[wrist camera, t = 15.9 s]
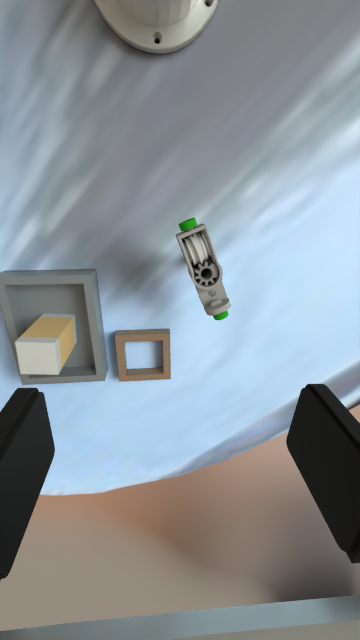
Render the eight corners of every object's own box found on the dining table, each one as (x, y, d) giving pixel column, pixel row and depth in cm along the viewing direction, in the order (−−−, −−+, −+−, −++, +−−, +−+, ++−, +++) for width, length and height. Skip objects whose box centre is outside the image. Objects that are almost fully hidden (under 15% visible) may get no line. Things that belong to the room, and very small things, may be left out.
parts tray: (5, 270, 34) (-8, 276, 31) (95, 269, 35) (90, 274, 32) (31, 372, 40) (22, 384, 37) (108, 368, 41) (104, 380, 38)
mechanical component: (196, 295, 37) (209, 325, 28) (167, 221, 33) (172, 228, 24) (216, 286, 37) (236, 314, 28) (189, 211, 33) (203, 215, 24)
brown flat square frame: (116, 330, 38) (114, 335, 37) (169, 328, 39) (169, 333, 37) (120, 375, 41) (119, 381, 40) (170, 372, 42) (170, 378, 40)
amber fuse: (43, 313, 36) (15, 341, 28) (75, 314, 36) (54, 343, 29) (46, 340, 37) (20, 373, 30) (77, 341, 38) (58, 374, 30)
